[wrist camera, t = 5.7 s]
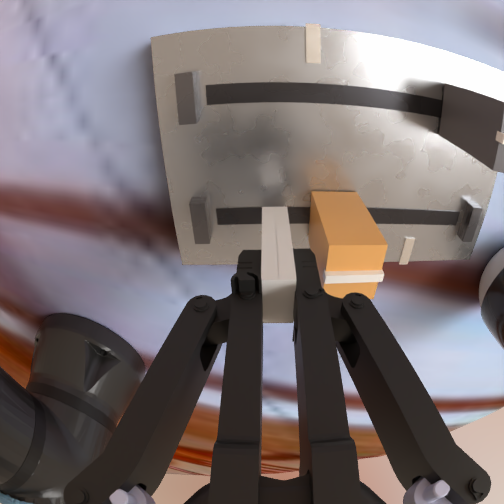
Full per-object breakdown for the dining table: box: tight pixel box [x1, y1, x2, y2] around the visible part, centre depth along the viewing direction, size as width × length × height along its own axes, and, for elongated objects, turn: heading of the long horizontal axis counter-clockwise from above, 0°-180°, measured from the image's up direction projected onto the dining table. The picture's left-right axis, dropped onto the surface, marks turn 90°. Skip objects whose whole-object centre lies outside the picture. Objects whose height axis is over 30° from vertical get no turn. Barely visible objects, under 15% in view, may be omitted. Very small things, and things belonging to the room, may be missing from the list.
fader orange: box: [308, 191, 388, 299], centre depth 17 cm, size 3×4×6 cm
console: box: [151, 24, 504, 265], centre depth 18 cm, size 24×16×3 cm
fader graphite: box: [439, 83, 504, 173], centre depth 13 cm, size 3×4×6 cm
